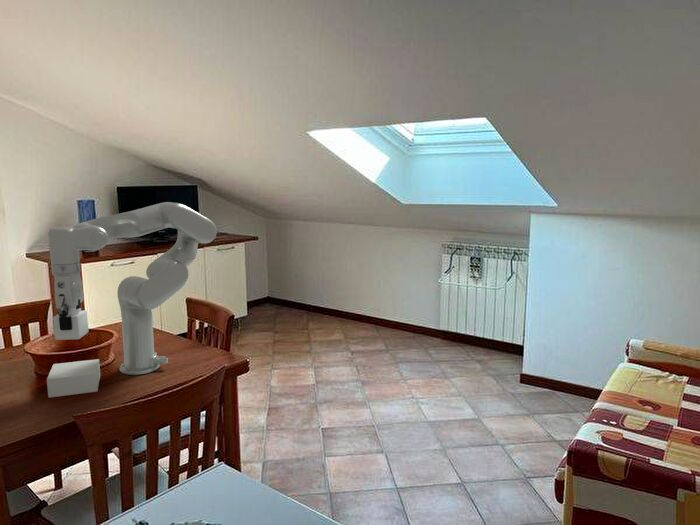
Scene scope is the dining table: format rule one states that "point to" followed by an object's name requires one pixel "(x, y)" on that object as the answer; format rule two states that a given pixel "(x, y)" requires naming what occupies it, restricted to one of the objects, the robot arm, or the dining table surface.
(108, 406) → the dining table surface
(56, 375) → the grey block
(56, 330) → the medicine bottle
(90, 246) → the robot arm
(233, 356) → the dining table surface
